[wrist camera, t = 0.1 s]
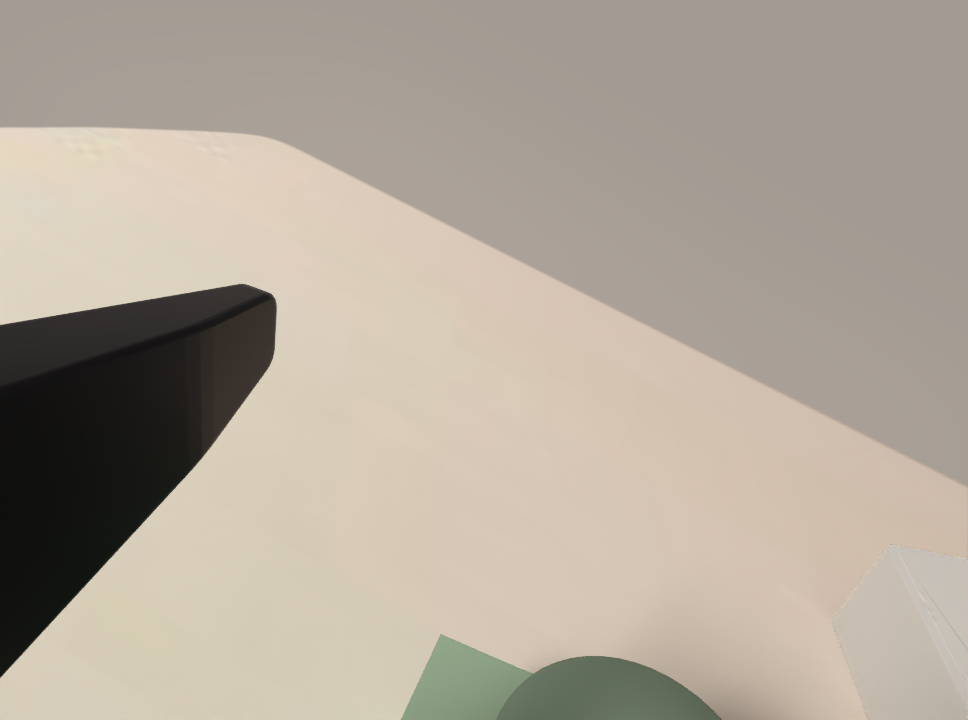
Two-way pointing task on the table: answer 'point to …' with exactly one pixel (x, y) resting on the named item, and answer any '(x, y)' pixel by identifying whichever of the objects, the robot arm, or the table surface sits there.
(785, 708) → the table surface
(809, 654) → the table surface
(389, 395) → the table surface
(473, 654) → the green domed block
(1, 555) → the robot arm
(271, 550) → the table surface
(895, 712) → the power supply unit
